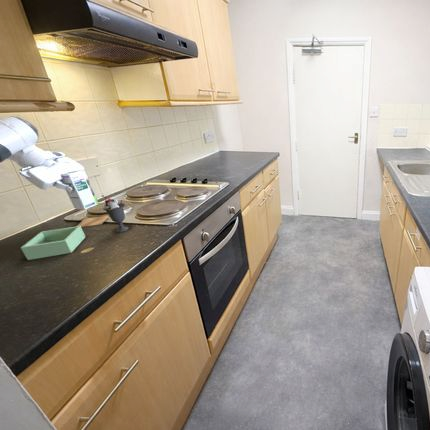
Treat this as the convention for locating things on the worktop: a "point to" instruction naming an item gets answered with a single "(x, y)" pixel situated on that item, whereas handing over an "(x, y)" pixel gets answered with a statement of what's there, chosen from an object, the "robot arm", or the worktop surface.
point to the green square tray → (53, 242)
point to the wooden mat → (92, 221)
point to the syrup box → (79, 189)
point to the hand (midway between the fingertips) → (79, 186)
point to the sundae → (115, 212)
